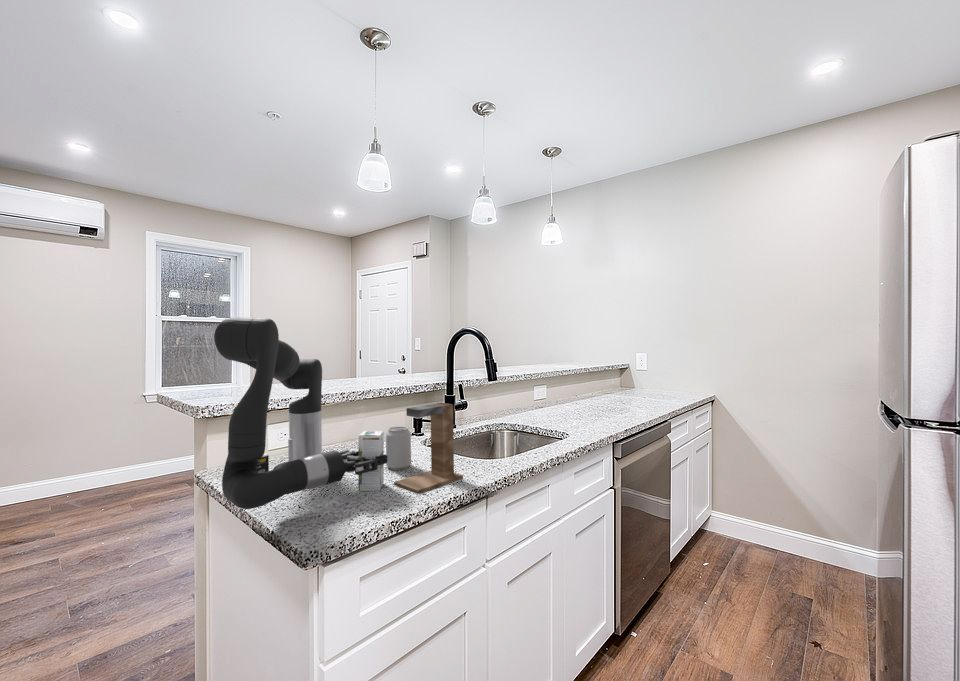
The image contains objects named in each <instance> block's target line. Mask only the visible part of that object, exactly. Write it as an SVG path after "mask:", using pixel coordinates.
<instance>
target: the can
mask: <svg viewBox="0 0 960 681" xmlns="http://www.w3.org/2000/svg"><path fill="white" fill-rule="evenodd" d="M387 430H388V431H387V432H386V433H385V455H387V463H386V464H385V465H386V467H387V468H388V469H390V470H392V471H393V470H394V471H400V470H405V469H408V468H409V467H410V466H411V465H412V432H411V431H410V430H409V427H408V426H401V425H400V426H392V427H391V426H390V427H388V429H387Z"/></svg>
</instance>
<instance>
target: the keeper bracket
mask: <svg viewBox="0 0 960 681" xmlns="http://www.w3.org/2000/svg"><path fill="white" fill-rule="evenodd" d="M406 416H407V417H412V418H418V419H419V418H425V417H429V416H430V457H431V458H430V460H431V464H430V465H431V466H430V467H431V470H429V471H424V472H421V473H418V474H416V475H412V476H409V477H406V478H402V479H399V480H396V481H394V482H393V485H394V486H396V487H399V488H401V489H404V490H407V491H409V492H413V493H414V494H421V493H424V492H427V491H429V490H432V489H436V488H438V487H441V486H443V485H447V484H450V483H452V482H455V481H458V480H461V479H463V477H464V475H463V474H461V473H460V474H459V473H457V472H455V464H454V463H455V459H454V458H455V455H454V454H455V453H454V450H455V449H454V446H455V445H454V444H455V443H454V441H455V440H454V404H452V403H446V402H438V403H437V402H436V403H431V404H425V405H417V406H411V407H406Z"/></svg>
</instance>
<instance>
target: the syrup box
mask: <svg viewBox="0 0 960 681" xmlns="http://www.w3.org/2000/svg"><path fill="white" fill-rule="evenodd" d="M384 435H385V434H384V431H382V430H363V431H362V432H361V433H360V434H359V436H358V450H357V451H358V456H366V457H367V458H369V457H376V456H380V455H385V453H384V450H385V448H384V447H385V446H384V444H385V442H384V441H385V440H384V437H385V436H384ZM360 461H361V462H363V461H362V460H361V459H360ZM369 465H371V463H370V464H369ZM384 474H385V473H384V464H382V465H378V469H377V470H374V471H370V472H366V473H362V474H359V475H357V478H358V480H357V481H358V484H357V485H358V486H357V487H358V490H357V491H358V492H375V491H381V490H382V487H383V485H384V480H385V479H384V477H385V476H384Z"/></svg>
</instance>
